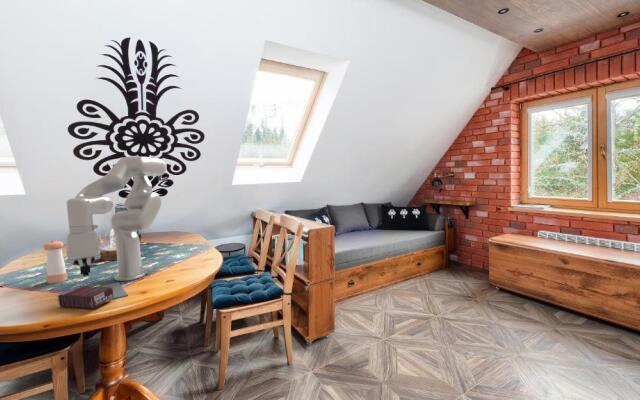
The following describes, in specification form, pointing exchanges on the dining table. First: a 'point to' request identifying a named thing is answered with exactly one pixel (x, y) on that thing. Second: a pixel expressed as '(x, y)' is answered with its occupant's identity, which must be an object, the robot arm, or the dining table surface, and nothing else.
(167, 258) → the dining table surface
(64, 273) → the pepper shaker
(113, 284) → the mat
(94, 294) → the supplement box
